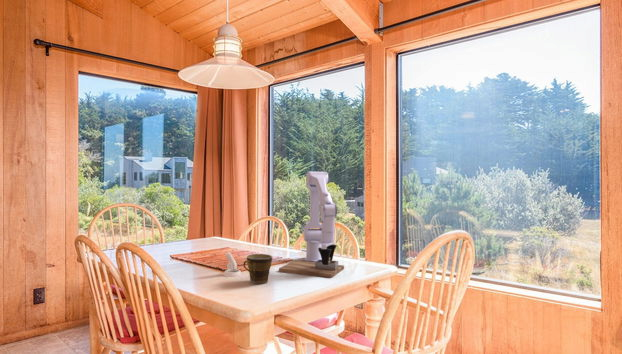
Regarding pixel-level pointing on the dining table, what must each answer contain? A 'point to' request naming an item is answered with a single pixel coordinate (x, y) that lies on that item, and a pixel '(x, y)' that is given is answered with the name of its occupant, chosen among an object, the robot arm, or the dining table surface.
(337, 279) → the dining table surface
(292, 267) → the keeper board
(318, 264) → the silver rectangular frame
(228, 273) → the hook
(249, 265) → the ceramic cup
